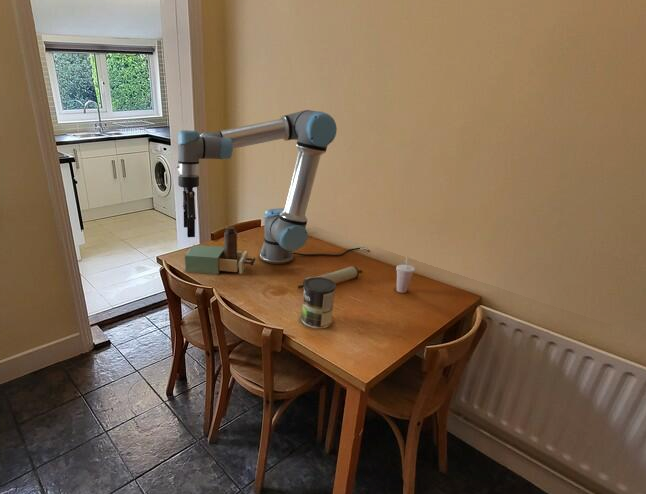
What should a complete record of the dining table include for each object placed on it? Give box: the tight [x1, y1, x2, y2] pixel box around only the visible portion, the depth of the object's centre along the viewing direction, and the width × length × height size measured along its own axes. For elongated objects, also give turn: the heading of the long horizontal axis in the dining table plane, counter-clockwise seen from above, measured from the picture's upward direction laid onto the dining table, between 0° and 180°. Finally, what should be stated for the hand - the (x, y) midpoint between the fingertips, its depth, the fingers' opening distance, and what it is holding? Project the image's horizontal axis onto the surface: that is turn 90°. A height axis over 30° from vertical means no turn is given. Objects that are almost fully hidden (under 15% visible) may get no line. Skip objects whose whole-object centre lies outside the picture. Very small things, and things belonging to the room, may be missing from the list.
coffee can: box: [301, 276, 337, 330], centre depth 137 cm, size 10×10×14 cm
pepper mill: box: [223, 225, 238, 260], centre depth 174 cm, size 5×5×17 cm
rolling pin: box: [297, 266, 363, 289], centre depth 163 cm, size 32×6×5 cm, turn 118°
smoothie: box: [395, 256, 415, 294], centre depth 156 cm, size 6×6×14 cm
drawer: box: [218, 250, 256, 275], centre depth 177 cm, size 18×11×6 cm, turn 77°
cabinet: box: [184, 244, 225, 275], centre depth 179 cm, size 15×13×8 cm
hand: (189, 232), depth 156 cm, fingers open, 13 cm apart
